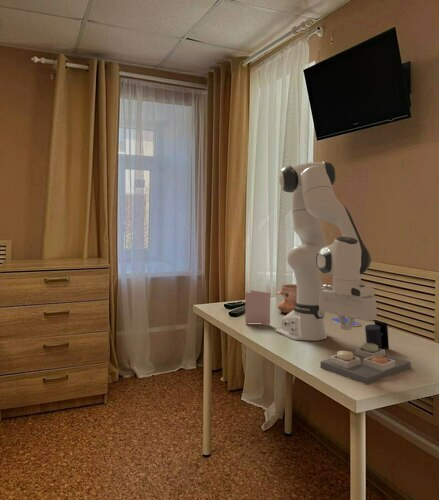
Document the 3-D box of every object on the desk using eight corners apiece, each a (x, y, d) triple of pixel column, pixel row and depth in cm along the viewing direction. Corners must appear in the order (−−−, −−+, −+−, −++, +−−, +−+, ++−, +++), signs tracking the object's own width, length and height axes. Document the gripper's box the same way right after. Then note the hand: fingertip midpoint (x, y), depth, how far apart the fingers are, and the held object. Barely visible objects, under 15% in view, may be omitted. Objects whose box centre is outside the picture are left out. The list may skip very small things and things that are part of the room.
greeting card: (271, 324, 196) (271, 293, 195) (261, 328, 191) (261, 295, 189) (251, 320, 204) (252, 289, 203) (241, 323, 199) (242, 292, 197)
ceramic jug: (279, 316, 212) (280, 288, 211) (273, 309, 227) (273, 283, 225) (314, 316, 214) (315, 288, 213) (305, 309, 229) (306, 283, 227)
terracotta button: (367, 364, 138) (367, 358, 137) (376, 361, 141) (376, 355, 140) (381, 368, 134) (381, 362, 133) (390, 365, 137) (390, 359, 136)
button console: (320, 367, 141) (320, 355, 141) (363, 353, 156) (364, 342, 155) (367, 384, 127) (367, 371, 127) (410, 367, 141) (410, 355, 141)
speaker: (380, 343, 166) (379, 318, 165) (389, 349, 161) (388, 323, 159) (362, 347, 165) (361, 321, 163) (371, 352, 159) (370, 326, 157)
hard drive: (361, 323, 194) (346, 317, 206) (345, 324, 192) (331, 318, 204) (360, 327, 194) (346, 320, 206) (344, 328, 192) (331, 321, 204)
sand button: (334, 358, 140) (334, 352, 140) (343, 355, 143) (343, 349, 143) (346, 362, 136) (346, 356, 136) (356, 359, 139) (356, 353, 139)
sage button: (359, 350, 148) (359, 344, 148) (368, 347, 151) (368, 342, 151) (372, 354, 144) (372, 348, 144) (380, 351, 147) (381, 345, 147)
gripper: (315, 284, 144) (314, 324, 145) (367, 292, 127) (367, 337, 128) (327, 282, 147) (326, 321, 148) (379, 290, 131) (379, 334, 132)
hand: (345, 329), depth 138 cm, fingers closed
